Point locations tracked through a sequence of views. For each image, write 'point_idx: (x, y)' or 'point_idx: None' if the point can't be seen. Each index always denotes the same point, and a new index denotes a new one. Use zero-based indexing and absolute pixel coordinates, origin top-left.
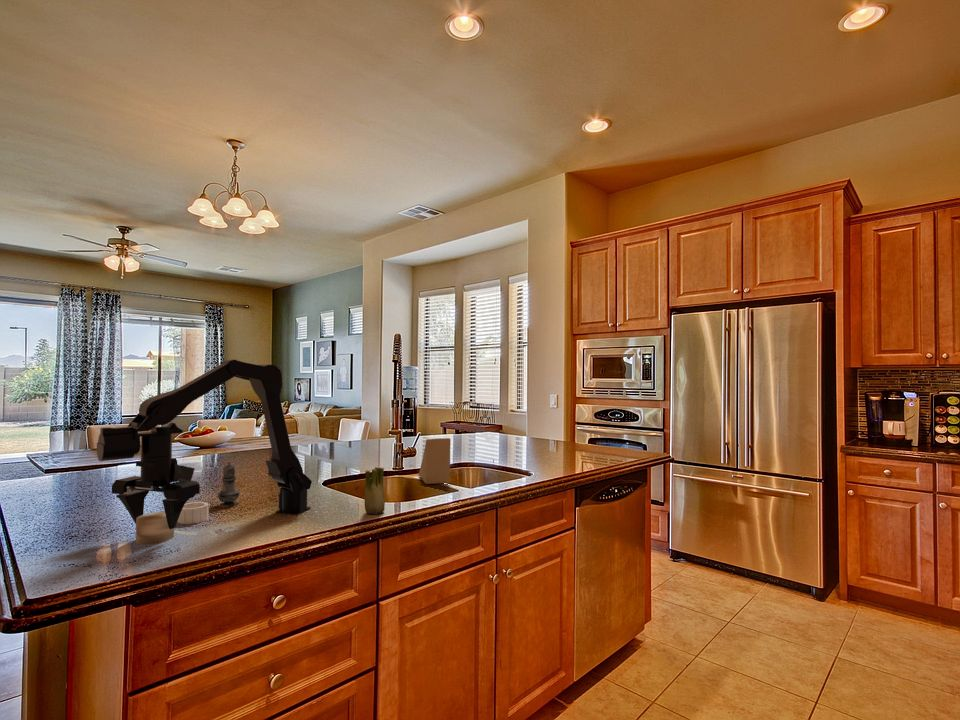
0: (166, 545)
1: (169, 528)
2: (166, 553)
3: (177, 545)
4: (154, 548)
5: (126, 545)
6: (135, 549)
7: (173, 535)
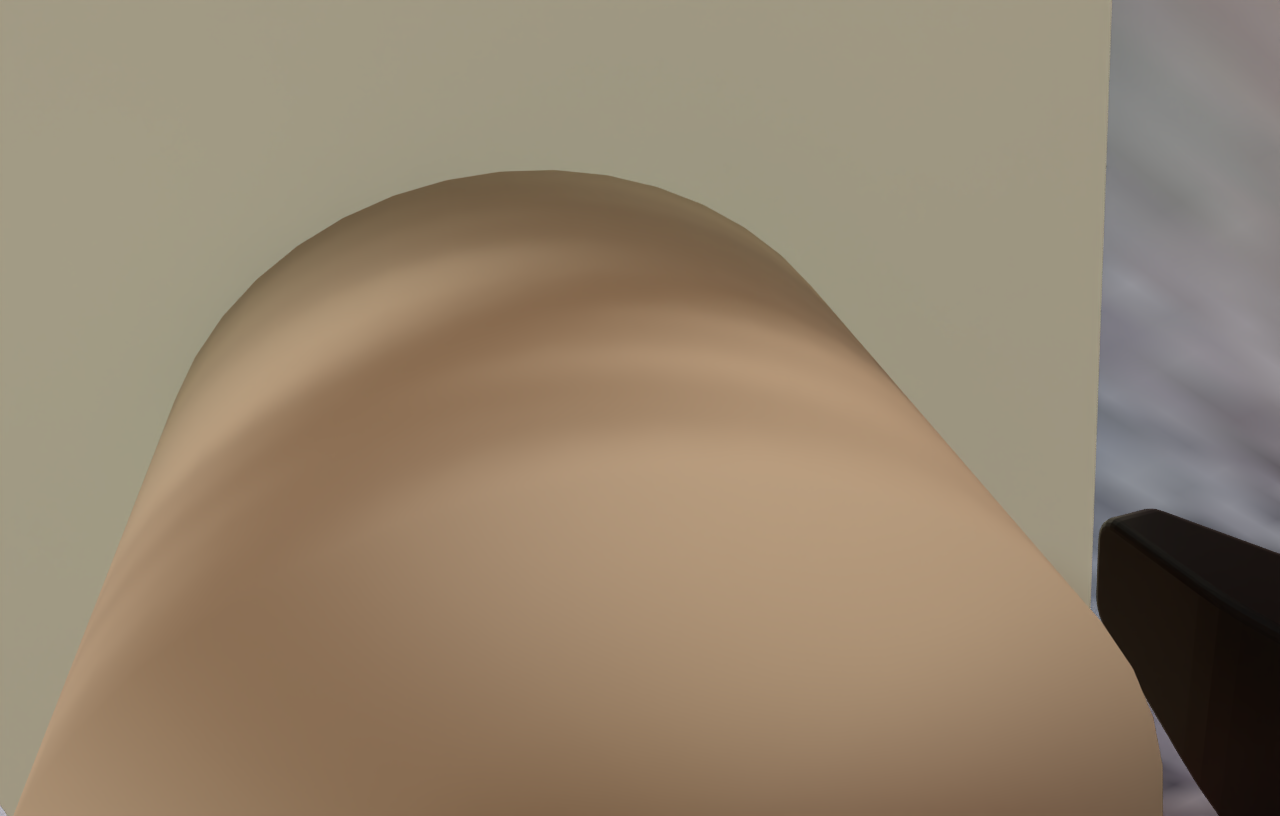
0: None
1: (1121, 630)
2: None
3: (1107, 362)
4: None
5: None
6: None
7: (803, 281)
